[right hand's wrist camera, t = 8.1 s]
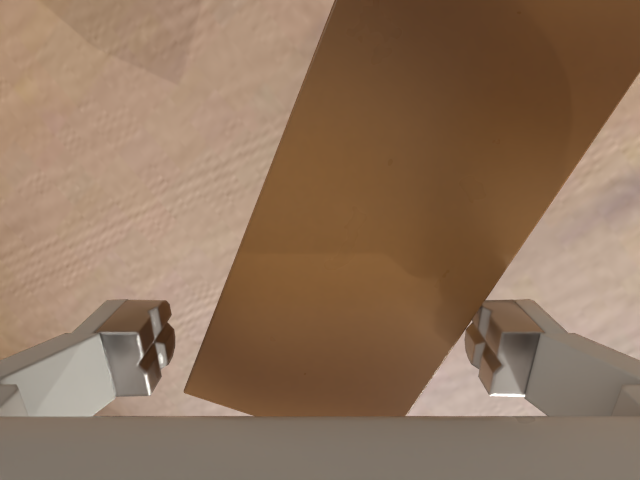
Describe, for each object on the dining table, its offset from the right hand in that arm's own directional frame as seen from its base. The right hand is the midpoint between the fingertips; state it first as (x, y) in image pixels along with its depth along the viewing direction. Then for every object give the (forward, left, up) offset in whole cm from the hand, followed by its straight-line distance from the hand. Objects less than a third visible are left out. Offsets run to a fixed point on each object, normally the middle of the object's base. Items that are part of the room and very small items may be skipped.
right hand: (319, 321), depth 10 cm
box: (+7, +2, -8) cm, 11 cm away
